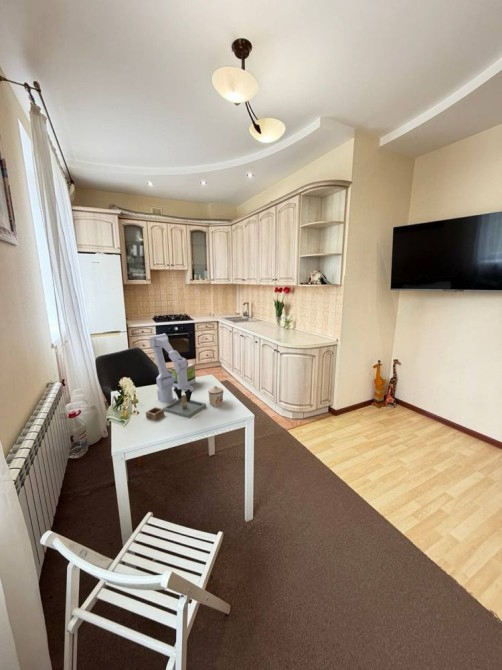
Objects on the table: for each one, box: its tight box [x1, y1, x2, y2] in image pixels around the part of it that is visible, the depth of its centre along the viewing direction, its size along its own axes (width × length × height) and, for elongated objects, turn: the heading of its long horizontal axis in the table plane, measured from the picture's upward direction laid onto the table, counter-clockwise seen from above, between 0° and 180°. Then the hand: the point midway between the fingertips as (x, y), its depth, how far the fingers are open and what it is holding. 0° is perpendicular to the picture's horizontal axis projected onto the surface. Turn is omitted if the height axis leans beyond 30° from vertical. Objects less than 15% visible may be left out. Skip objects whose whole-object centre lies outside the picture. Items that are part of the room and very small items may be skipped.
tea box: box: [170, 362, 197, 386], centre depth 200 cm, size 15×10×15 cm
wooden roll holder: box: [145, 406, 165, 421], centre depth 155 cm, size 7×7×4 cm
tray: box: [162, 398, 207, 419], centre depth 164 cm, size 20×16×2 cm
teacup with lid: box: [207, 385, 225, 407], centre depth 170 cm, size 12×9×12 cm
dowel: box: [181, 394, 187, 409], centre depth 163 cm, size 3×3×8 cm
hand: (184, 399), depth 163 cm, fingers open, 6 cm apart
